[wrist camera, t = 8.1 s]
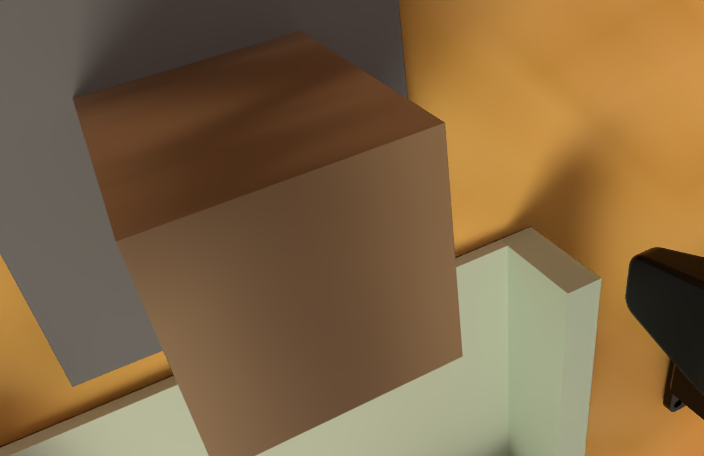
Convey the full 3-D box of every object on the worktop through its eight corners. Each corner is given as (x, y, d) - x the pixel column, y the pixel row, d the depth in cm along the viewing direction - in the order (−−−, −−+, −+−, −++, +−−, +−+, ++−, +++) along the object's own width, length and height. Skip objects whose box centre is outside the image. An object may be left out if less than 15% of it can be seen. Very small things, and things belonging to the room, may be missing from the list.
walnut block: (300, 30, 15) (444, 122, 10) (336, 217, 18) (462, 356, 13) (72, 98, 13) (115, 241, 9) (151, 288, 16) (216, 473, 11)
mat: (381, -93, 15) (389, -91, 14) (414, 239, 20) (421, 245, 19) (-119, 24, 12) (-122, 29, 11) (71, 376, 17) (72, 386, 16)
